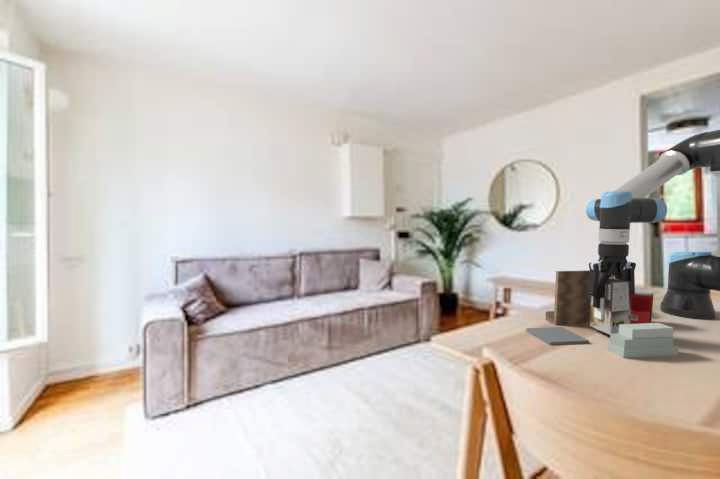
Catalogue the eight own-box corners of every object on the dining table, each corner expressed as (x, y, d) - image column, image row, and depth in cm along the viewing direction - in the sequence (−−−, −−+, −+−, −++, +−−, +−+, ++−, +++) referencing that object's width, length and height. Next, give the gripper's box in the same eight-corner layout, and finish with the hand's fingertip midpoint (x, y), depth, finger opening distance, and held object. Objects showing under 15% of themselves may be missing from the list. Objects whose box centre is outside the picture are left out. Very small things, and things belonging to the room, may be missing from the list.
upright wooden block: (598, 318, 126) (601, 267, 125) (611, 323, 121) (614, 270, 119) (545, 319, 124) (547, 268, 123) (555, 325, 119) (558, 271, 117)
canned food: (656, 327, 117) (658, 294, 116) (628, 325, 119) (631, 292, 118) (643, 319, 125) (645, 288, 124) (617, 318, 126) (619, 287, 125)
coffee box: (631, 335, 105) (634, 281, 104) (610, 336, 105) (613, 282, 104) (607, 325, 115) (609, 275, 113) (588, 325, 114) (590, 276, 113)
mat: (561, 329, 115) (561, 326, 115) (589, 343, 103) (589, 340, 103) (526, 330, 113) (526, 328, 113) (549, 344, 101) (550, 342, 101)
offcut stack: (660, 348, 99) (662, 322, 99) (678, 355, 94) (680, 328, 94) (607, 351, 98) (609, 324, 97) (623, 358, 93) (625, 330, 92)
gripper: (592, 244, 103) (589, 322, 105) (654, 243, 105) (649, 320, 107) (574, 242, 110) (571, 315, 112) (632, 241, 112) (628, 313, 114)
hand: (609, 317), depth 109 cm, fingers closed on coffee box, 6 cm apart
